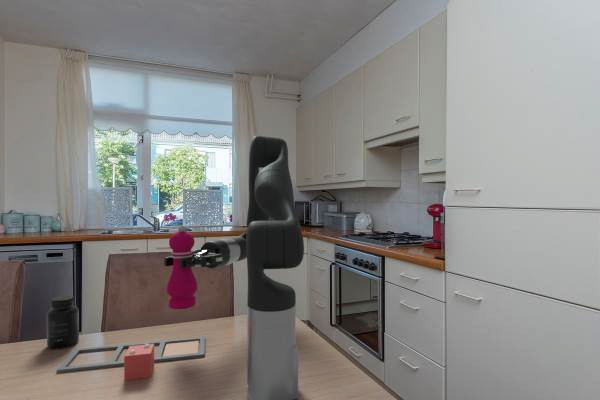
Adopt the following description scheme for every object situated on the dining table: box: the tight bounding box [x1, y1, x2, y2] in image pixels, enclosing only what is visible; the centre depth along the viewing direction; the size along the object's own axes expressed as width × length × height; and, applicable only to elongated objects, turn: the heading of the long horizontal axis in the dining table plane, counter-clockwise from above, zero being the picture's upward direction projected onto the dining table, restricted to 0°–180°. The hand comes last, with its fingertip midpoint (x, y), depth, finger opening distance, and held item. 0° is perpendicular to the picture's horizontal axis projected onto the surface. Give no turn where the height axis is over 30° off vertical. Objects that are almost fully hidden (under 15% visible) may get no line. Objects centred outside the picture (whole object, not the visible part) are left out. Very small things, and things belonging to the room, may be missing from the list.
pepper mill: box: [166, 225, 198, 310], centre depth 86 cm, size 7×7×20 cm
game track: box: [56, 336, 206, 374], centre depth 83 cm, size 31×11×1 cm, turn 105°
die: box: [123, 344, 155, 381], centre depth 74 cm, size 5×5×6 cm
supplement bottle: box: [46, 294, 80, 350], centre depth 89 cm, size 7×7×12 cm
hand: (173, 263), depth 83 cm, fingers closed on pepper mill, 4 cm apart
